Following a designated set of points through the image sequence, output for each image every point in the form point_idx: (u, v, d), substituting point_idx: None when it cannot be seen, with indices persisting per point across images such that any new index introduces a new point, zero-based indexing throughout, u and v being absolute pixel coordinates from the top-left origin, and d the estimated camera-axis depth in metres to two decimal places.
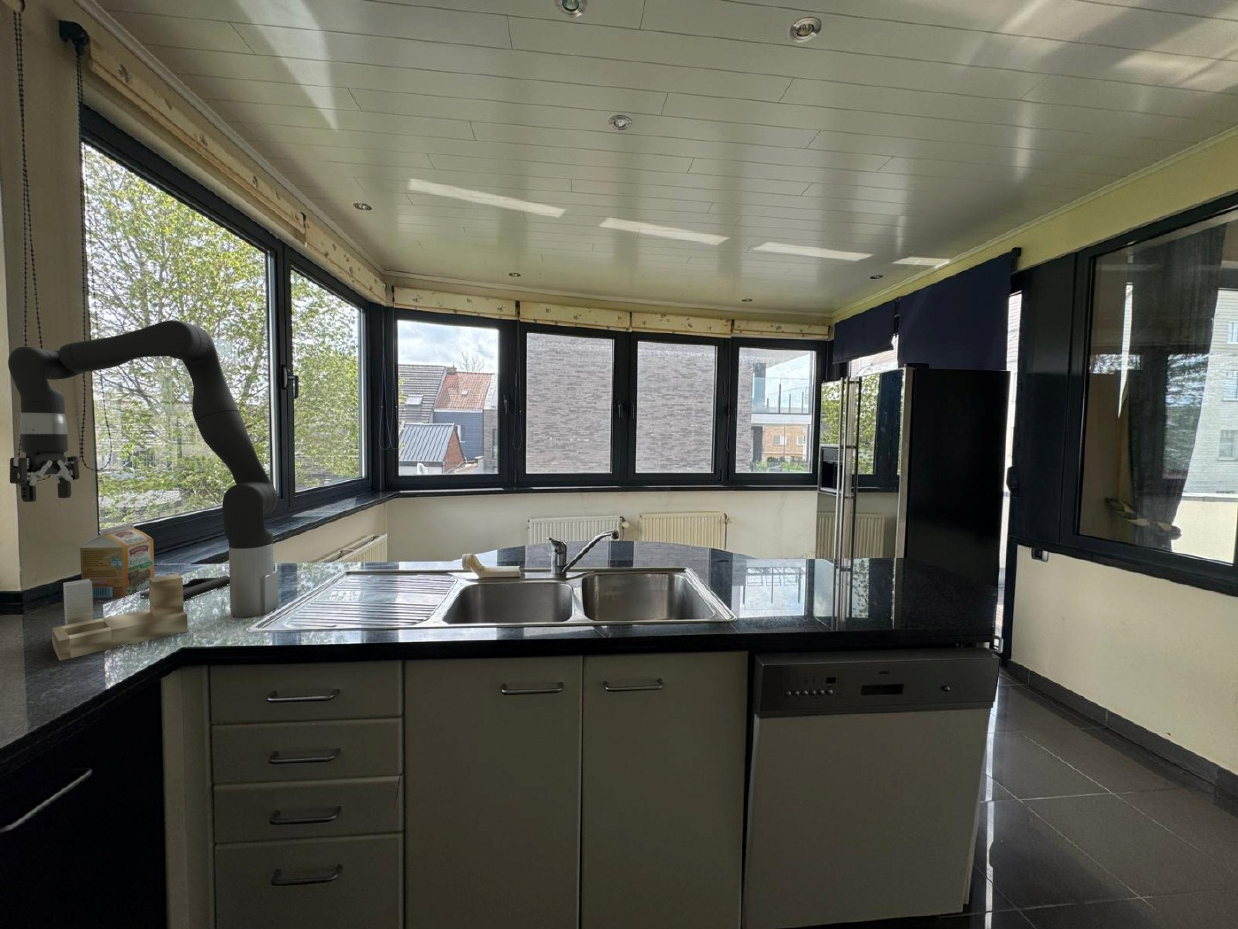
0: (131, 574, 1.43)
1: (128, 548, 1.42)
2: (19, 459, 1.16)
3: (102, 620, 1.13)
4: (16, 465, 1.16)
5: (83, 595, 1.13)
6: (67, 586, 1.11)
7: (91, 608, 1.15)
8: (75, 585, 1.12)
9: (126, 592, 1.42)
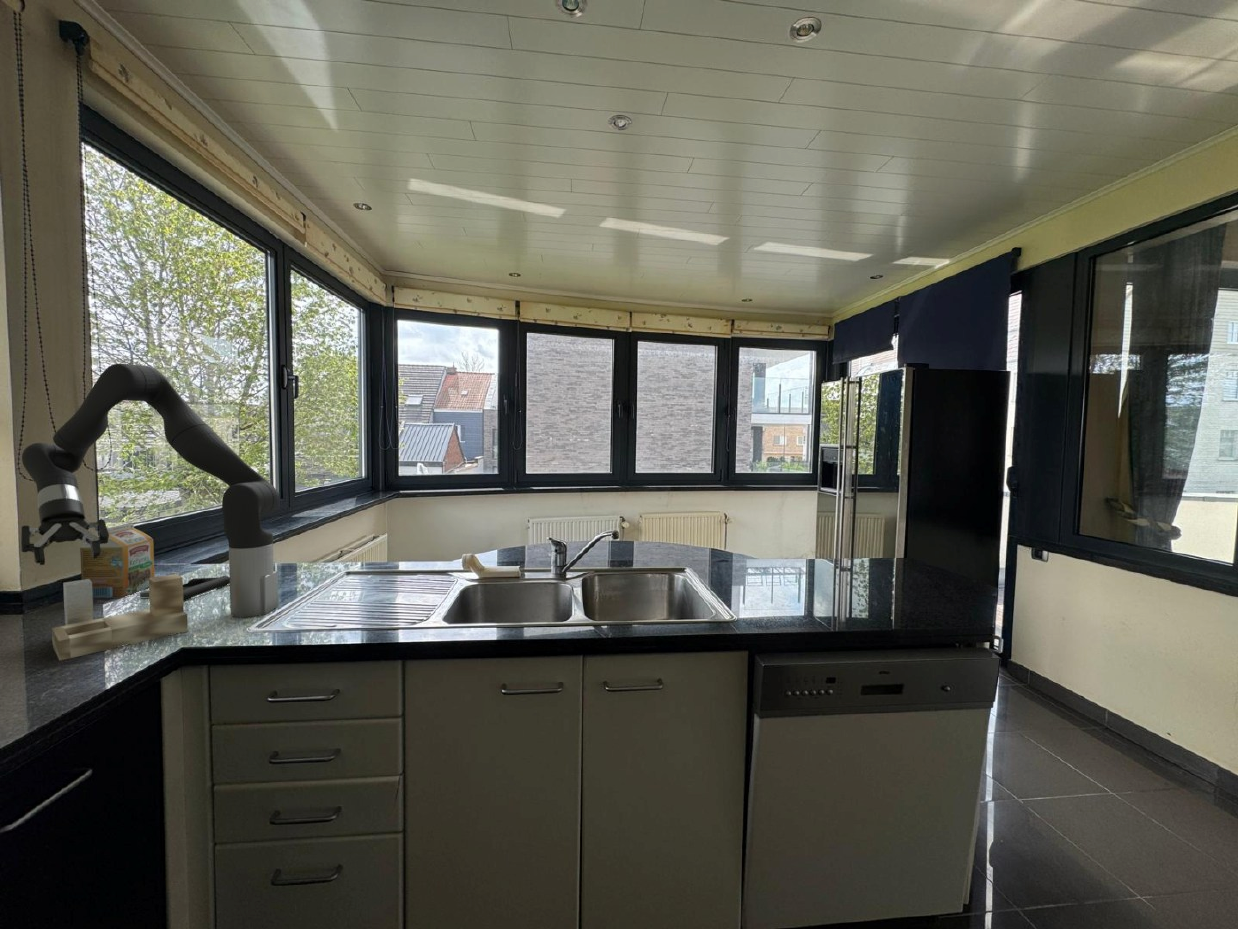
0: (131, 574, 1.43)
1: (128, 548, 1.42)
2: None
3: (102, 620, 1.13)
4: None
5: (83, 595, 1.13)
6: (67, 586, 1.11)
7: (91, 608, 1.15)
8: (75, 585, 1.12)
9: (126, 592, 1.42)
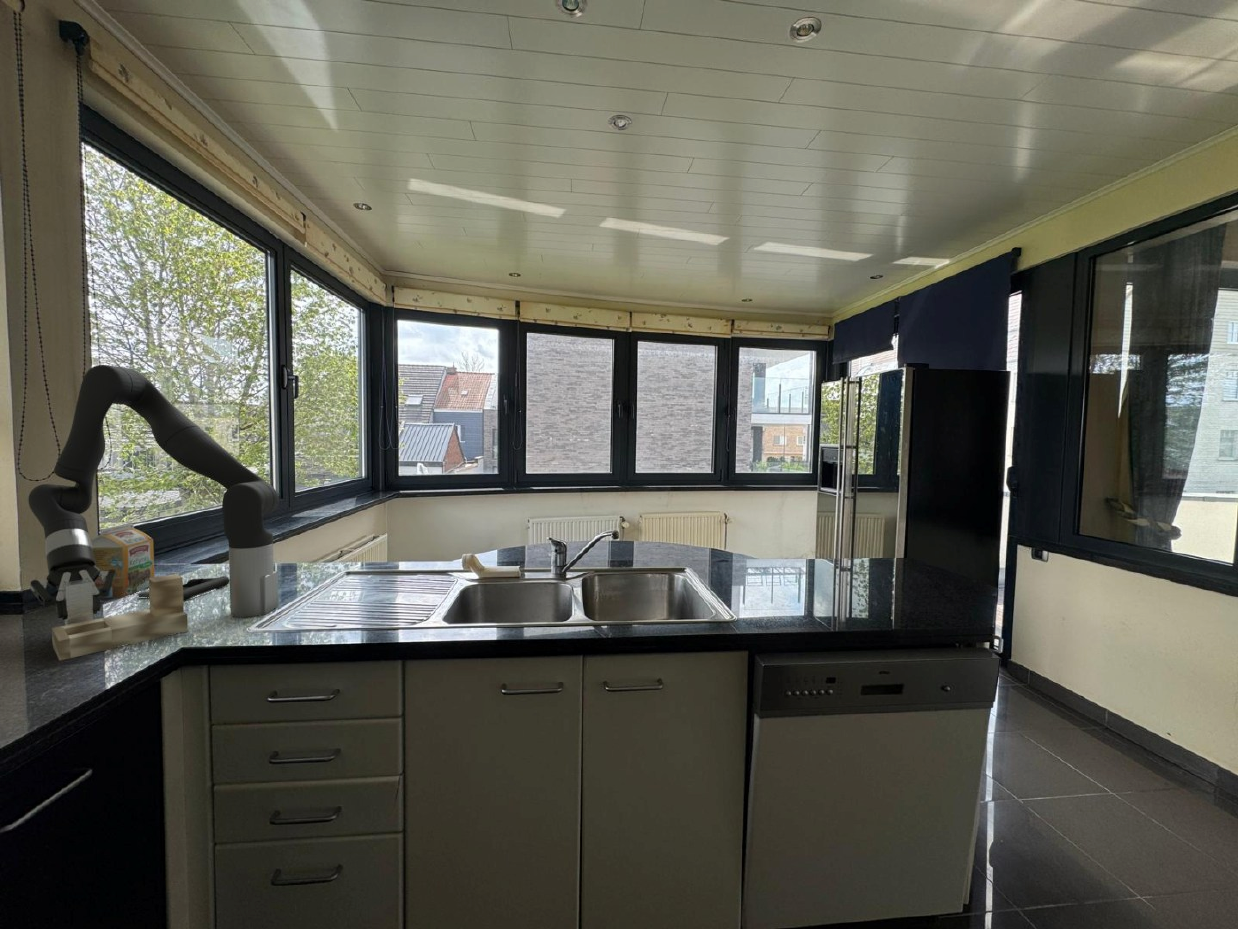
0: (131, 574, 1.43)
1: (128, 548, 1.42)
2: (30, 584, 1.11)
3: (102, 620, 1.13)
4: (34, 590, 1.11)
5: (83, 595, 1.13)
6: (67, 586, 1.11)
7: (91, 608, 1.14)
8: (75, 585, 1.12)
9: (126, 592, 1.42)
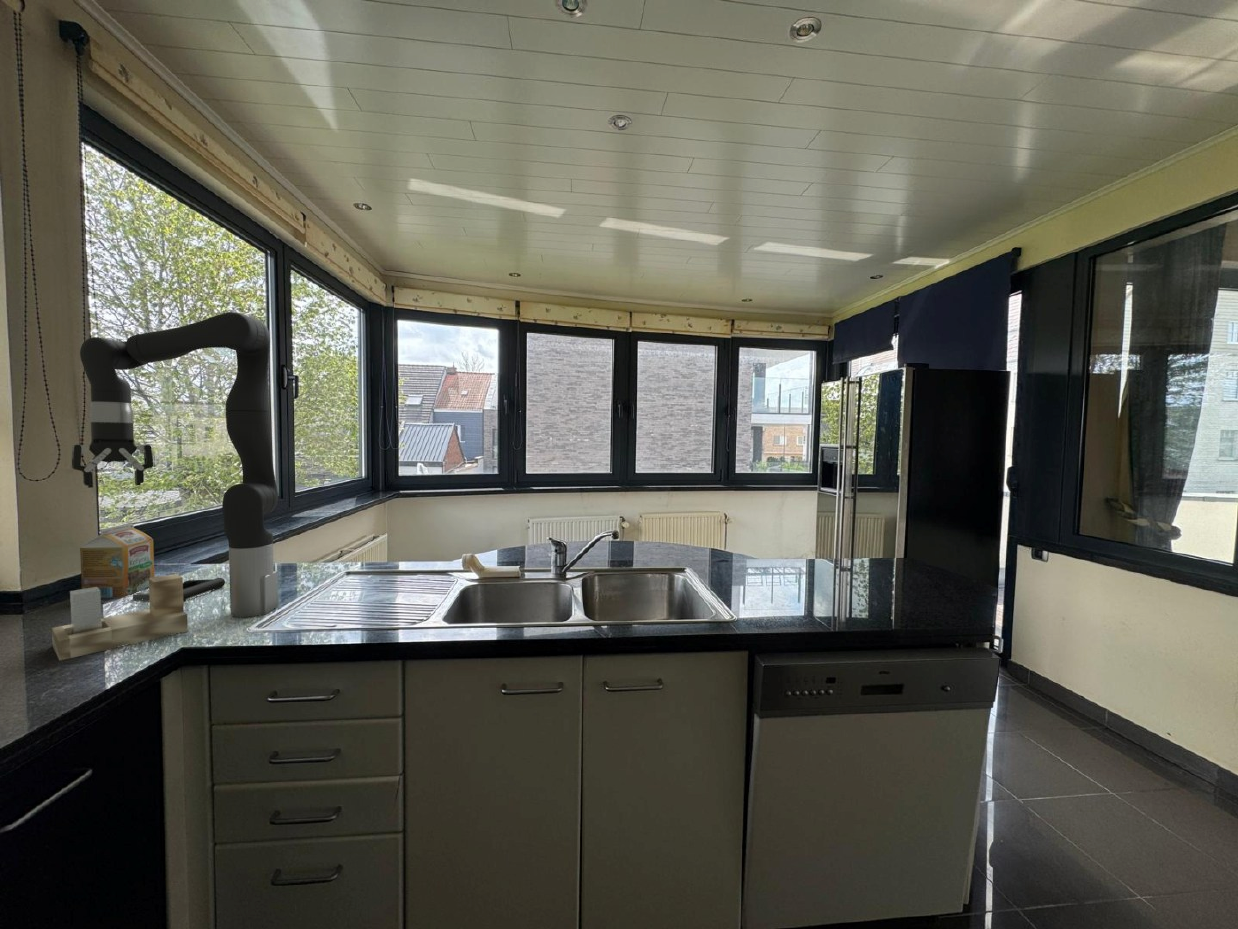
0: (131, 574, 1.43)
1: (128, 548, 1.42)
2: (73, 446, 1.21)
3: (102, 620, 1.13)
4: None
5: (91, 604, 1.08)
6: (74, 595, 1.06)
7: (99, 618, 1.09)
8: (83, 594, 1.06)
9: (126, 592, 1.42)
